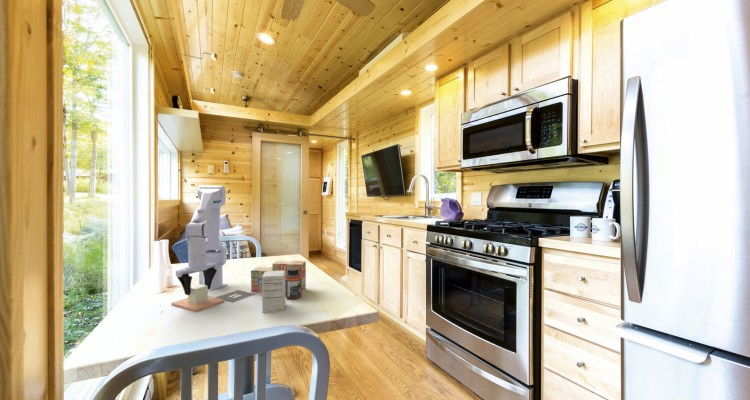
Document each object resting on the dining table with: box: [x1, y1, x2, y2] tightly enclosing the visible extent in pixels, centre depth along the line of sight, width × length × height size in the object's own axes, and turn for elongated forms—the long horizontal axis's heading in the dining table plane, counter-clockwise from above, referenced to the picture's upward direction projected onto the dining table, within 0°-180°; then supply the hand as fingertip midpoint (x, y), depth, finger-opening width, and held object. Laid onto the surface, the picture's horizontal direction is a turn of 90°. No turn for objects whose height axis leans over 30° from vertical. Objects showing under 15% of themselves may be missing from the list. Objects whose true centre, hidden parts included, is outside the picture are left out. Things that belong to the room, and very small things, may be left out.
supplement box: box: [261, 271, 287, 313], centre depth 111 cm, size 7×7×13 cm
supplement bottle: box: [285, 268, 302, 300], centre depth 122 cm, size 6×6×11 cm
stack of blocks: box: [250, 259, 307, 294], centre depth 131 cm, size 21×6×12 cm, turn 86°
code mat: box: [214, 289, 256, 304], centre depth 123 cm, size 11×11×1 cm
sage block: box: [187, 283, 209, 304], centre depth 115 cm, size 4×4×6 cm
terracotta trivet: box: [171, 295, 225, 313], centre depth 115 cm, size 14×11×1 cm
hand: (197, 291), depth 115 cm, fingers open, 7 cm apart
